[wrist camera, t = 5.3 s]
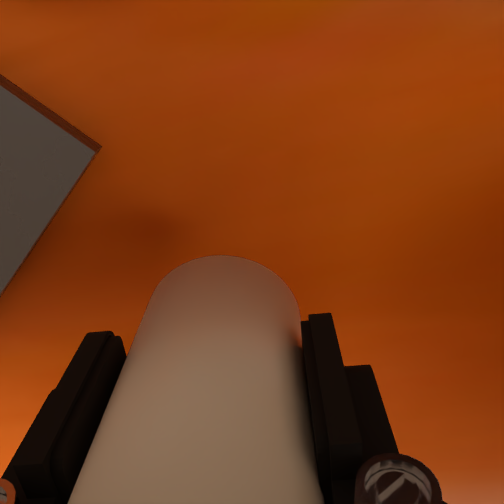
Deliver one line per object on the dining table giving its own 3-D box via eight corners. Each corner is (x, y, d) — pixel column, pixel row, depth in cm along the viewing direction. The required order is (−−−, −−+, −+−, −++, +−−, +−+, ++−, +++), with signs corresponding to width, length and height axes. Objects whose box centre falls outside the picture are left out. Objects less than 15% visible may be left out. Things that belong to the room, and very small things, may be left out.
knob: (207, 224, 12) (128, 517, 5) (332, 315, 14) (416, 662, 6) (103, 350, 14) (-66, 700, 7) (221, 421, 15) (184, 787, 8)
